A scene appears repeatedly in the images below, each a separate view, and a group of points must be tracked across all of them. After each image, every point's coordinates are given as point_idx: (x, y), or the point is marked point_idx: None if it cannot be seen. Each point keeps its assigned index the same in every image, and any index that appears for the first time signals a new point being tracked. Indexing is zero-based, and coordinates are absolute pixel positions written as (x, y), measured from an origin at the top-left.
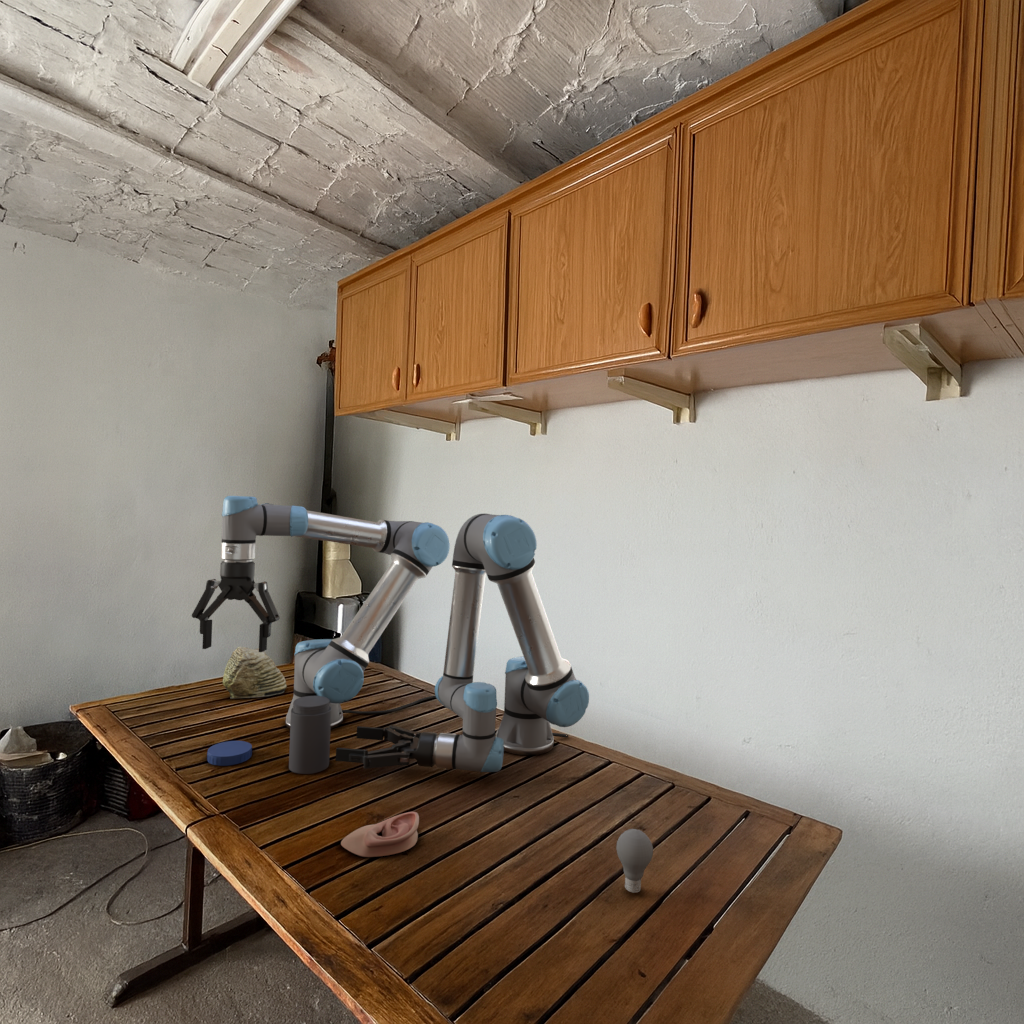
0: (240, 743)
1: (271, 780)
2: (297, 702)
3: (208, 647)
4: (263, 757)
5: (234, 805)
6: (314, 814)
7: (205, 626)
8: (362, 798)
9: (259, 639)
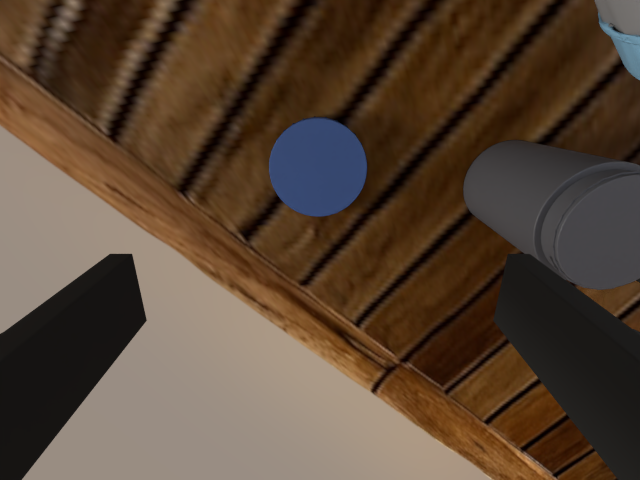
0: (328, 136)
1: (444, 256)
2: (572, 257)
3: (138, 289)
4: (392, 154)
5: (412, 340)
6: None
7: (30, 460)
8: (619, 298)
9: (543, 381)
